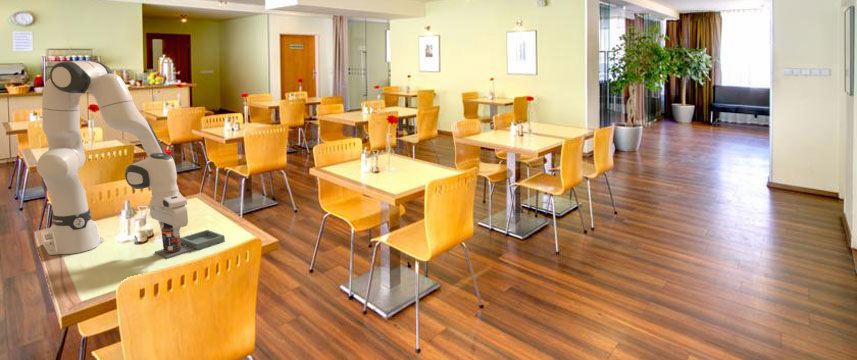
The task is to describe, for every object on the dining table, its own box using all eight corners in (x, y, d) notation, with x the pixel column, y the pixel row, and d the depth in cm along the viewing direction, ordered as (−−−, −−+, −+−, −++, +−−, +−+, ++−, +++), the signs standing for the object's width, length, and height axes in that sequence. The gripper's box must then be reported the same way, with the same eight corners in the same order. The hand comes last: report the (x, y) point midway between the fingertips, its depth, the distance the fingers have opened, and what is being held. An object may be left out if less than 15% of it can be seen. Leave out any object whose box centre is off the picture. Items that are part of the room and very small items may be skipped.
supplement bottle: (174, 253, 193) (170, 224, 190) (160, 252, 194) (156, 223, 192) (184, 248, 199) (181, 219, 196) (170, 247, 200) (167, 218, 197)
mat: (154, 253, 196) (154, 251, 195) (178, 245, 203) (178, 244, 202) (167, 258, 190) (167, 257, 190) (191, 251, 197) (191, 249, 197)
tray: (180, 243, 205) (179, 237, 204) (208, 235, 214) (207, 229, 213) (197, 250, 198) (196, 244, 197) (224, 241, 207) (224, 235, 207)
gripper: (142, 195, 195) (147, 230, 198) (172, 204, 183) (176, 242, 187) (159, 191, 200) (164, 226, 203) (189, 200, 188) (193, 237, 192)
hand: (170, 233), depth 195 cm, fingers open, 6 cm apart
